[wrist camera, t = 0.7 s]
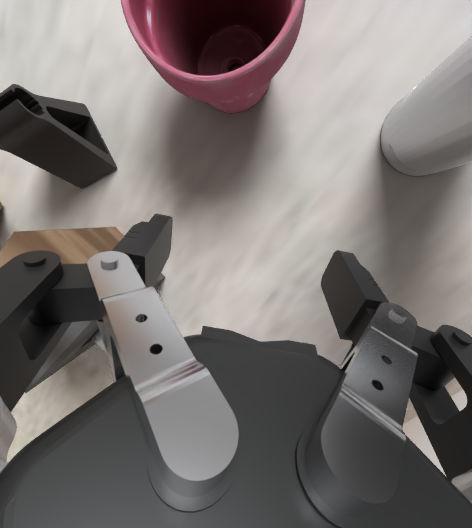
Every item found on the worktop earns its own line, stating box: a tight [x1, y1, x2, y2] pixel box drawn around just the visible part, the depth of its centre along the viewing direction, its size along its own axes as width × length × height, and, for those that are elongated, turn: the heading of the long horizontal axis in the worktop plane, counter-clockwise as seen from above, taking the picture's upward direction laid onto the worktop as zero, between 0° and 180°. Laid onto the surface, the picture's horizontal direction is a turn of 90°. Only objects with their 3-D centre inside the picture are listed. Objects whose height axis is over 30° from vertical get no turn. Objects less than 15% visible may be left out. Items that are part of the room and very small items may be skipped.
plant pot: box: [121, 0, 305, 113], centre depth 24 cm, size 14×14×13 cm
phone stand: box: [0, 84, 117, 188], centre depth 29 cm, size 9×6×12 cm, turn 25°
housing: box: [0, 227, 165, 393], centre depth 30 cm, size 12×10×14 cm
